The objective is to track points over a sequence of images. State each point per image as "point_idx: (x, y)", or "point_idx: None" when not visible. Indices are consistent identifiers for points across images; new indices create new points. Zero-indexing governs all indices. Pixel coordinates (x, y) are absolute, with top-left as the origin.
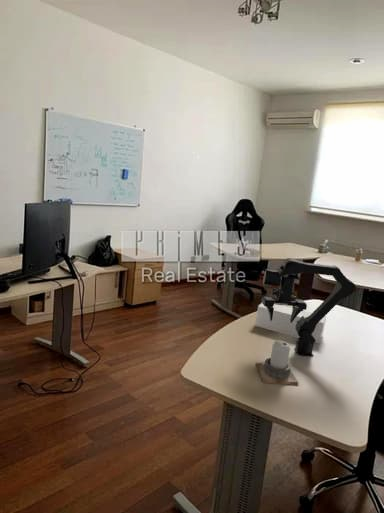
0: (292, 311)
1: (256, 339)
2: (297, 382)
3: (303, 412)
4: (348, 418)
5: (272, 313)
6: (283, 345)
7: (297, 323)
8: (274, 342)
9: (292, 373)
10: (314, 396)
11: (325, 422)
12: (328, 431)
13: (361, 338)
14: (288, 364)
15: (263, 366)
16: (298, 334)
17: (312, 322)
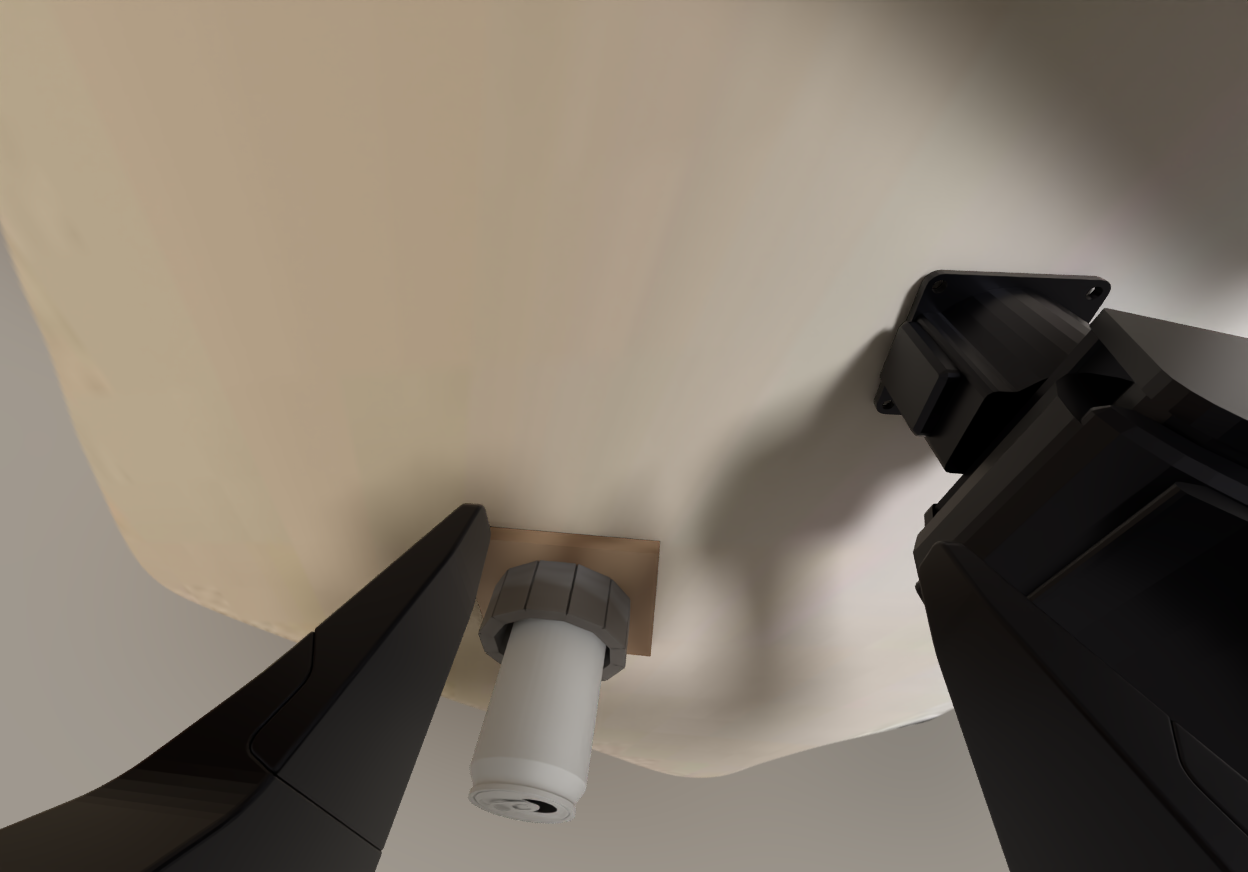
0: (1180, 864)
1: (497, 15)
2: (645, 655)
3: (603, 721)
4: (742, 745)
5: (394, 777)
6: (528, 814)
7: (1077, 571)
8: (468, 796)
9: (652, 612)
10: (686, 687)
11: (654, 744)
12: (644, 757)
13: None
14: (617, 656)
15: (499, 564)
16: (918, 547)
17: None
